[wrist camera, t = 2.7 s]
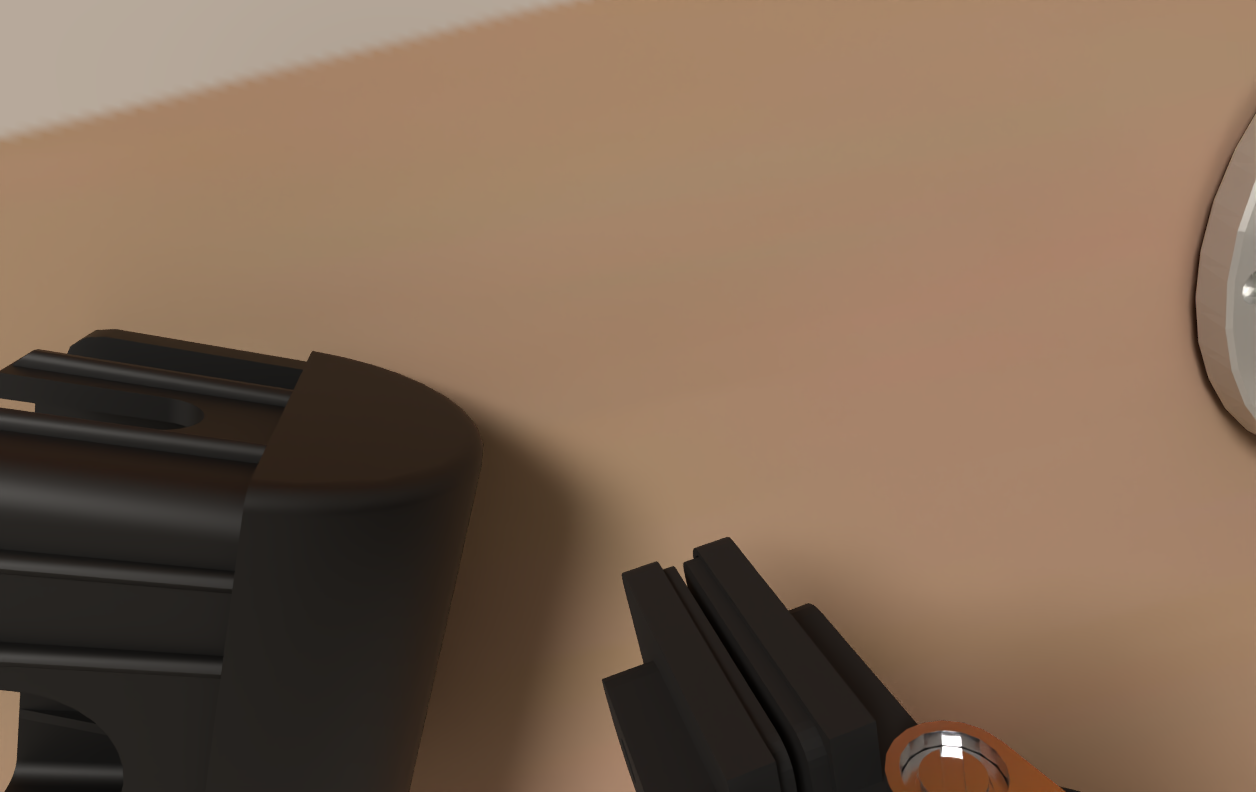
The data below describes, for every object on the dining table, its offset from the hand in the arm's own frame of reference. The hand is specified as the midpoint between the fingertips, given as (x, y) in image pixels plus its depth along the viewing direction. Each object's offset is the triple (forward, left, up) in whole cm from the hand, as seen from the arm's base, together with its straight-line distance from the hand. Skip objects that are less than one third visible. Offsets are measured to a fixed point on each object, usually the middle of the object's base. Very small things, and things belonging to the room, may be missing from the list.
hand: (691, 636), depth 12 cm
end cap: (+7, 0, -7) cm, 10 cm away
